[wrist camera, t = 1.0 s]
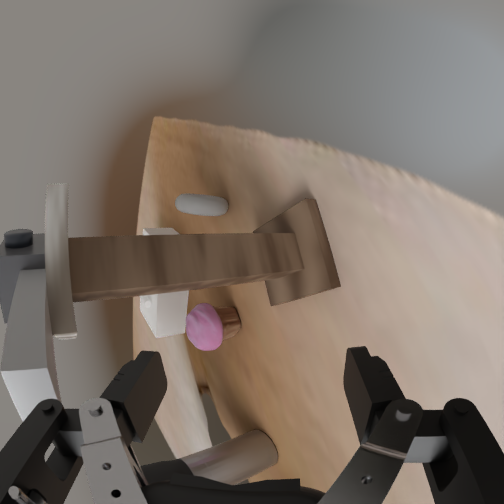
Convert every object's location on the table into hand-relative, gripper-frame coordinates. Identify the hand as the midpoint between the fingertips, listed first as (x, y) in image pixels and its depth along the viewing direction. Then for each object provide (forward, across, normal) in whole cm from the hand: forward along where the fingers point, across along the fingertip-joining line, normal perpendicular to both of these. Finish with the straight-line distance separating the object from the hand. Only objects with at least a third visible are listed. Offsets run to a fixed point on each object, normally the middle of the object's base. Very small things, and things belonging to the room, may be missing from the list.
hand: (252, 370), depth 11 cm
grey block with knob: (+5, -15, +1) cm, 16 cm away
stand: (+31, +4, -3) cm, 31 cm away
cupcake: (+40, -7, -18) cm, 45 cm away
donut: (+47, -8, +3) cm, 48 cm away
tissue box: (+62, -25, -17) cm, 69 cm away
